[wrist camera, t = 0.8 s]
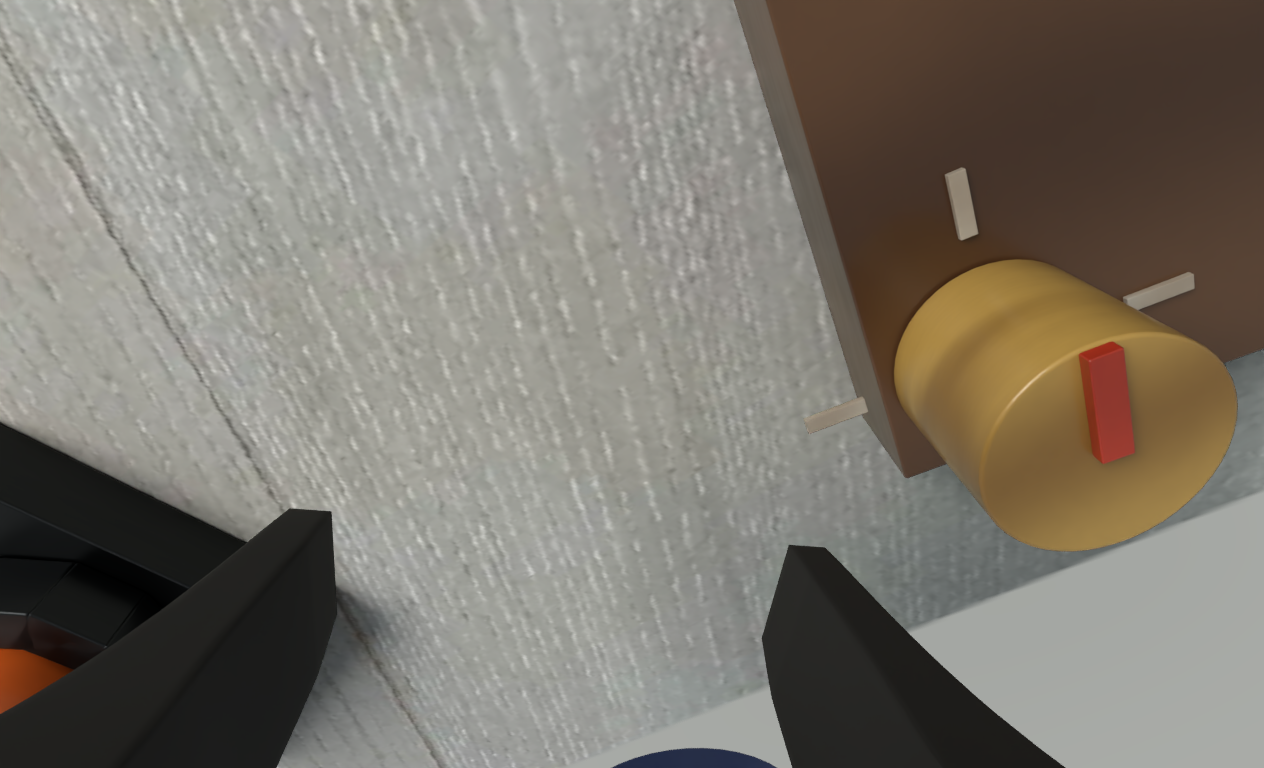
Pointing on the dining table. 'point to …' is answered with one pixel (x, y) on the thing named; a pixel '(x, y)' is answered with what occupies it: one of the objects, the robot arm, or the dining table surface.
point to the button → (25, 676)
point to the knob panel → (1018, 162)
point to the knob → (1063, 404)
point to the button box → (87, 554)
